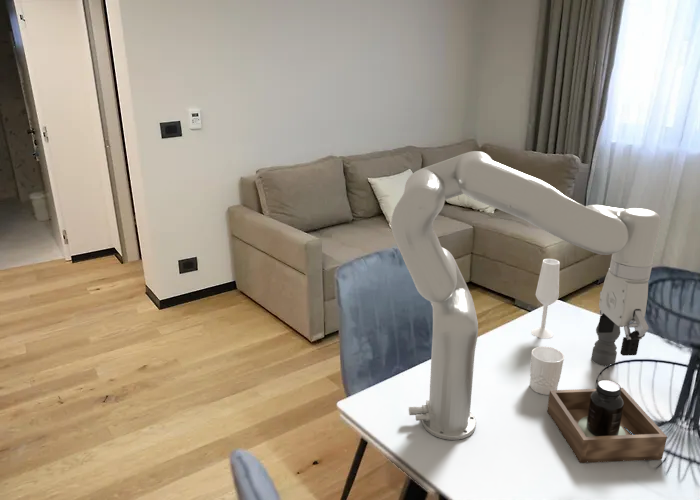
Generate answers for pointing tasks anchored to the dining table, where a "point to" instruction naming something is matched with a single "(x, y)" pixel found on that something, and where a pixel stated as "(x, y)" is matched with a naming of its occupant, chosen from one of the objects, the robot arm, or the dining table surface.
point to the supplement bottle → (605, 409)
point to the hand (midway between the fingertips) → (616, 342)
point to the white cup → (545, 369)
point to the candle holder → (605, 347)
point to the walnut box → (572, 421)
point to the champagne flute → (547, 292)
